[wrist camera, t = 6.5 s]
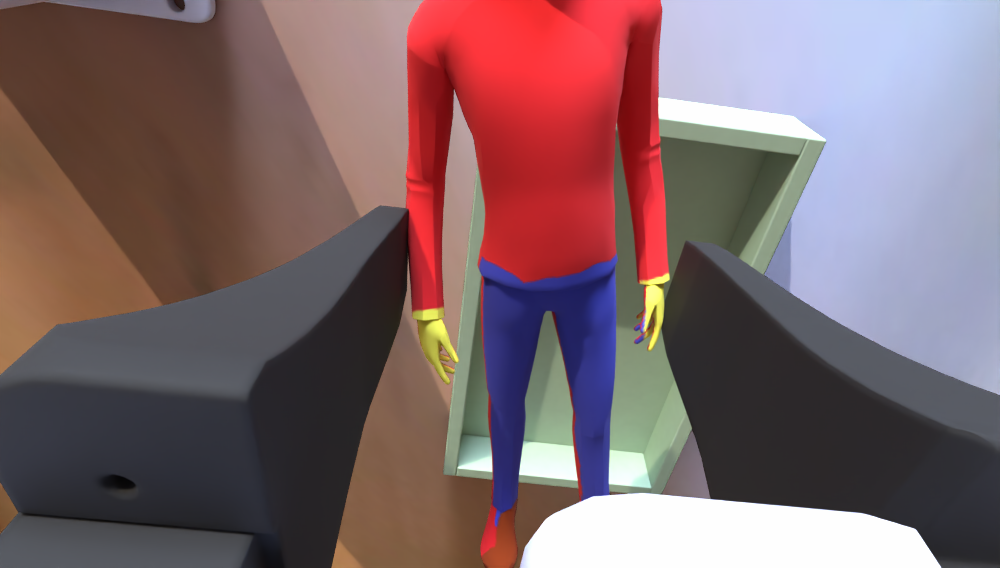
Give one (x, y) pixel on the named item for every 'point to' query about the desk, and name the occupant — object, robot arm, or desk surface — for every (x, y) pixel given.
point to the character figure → (539, 204)
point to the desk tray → (639, 296)
